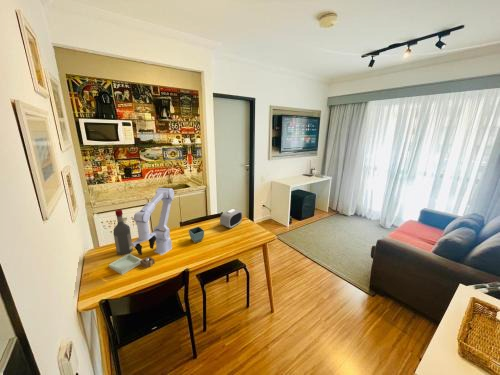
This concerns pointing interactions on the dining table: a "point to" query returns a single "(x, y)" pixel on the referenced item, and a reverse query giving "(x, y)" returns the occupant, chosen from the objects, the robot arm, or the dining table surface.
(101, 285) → the dining table surface
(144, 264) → the ring
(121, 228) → the liquor
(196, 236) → the flower pot
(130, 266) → the tray
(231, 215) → the alarm clock
